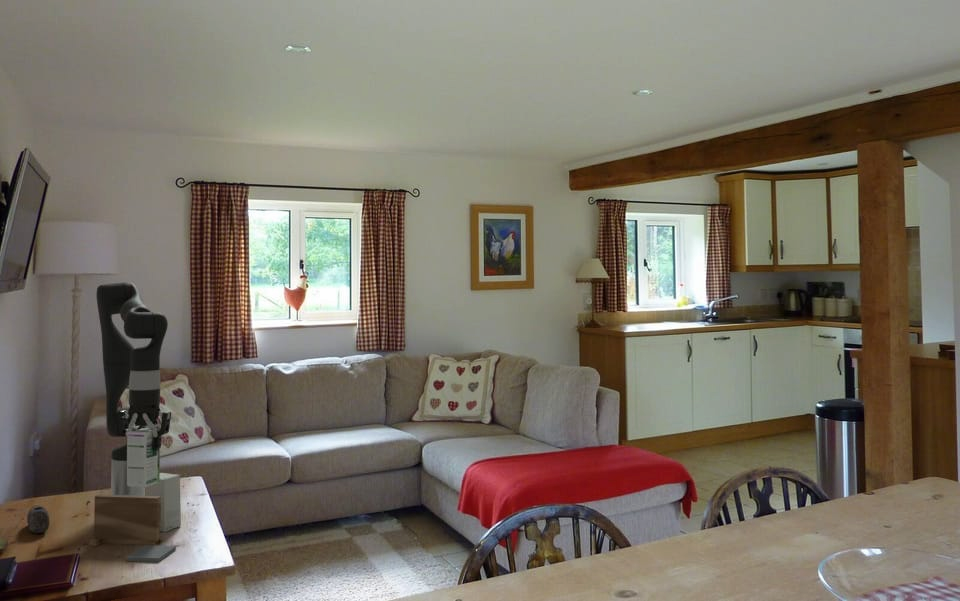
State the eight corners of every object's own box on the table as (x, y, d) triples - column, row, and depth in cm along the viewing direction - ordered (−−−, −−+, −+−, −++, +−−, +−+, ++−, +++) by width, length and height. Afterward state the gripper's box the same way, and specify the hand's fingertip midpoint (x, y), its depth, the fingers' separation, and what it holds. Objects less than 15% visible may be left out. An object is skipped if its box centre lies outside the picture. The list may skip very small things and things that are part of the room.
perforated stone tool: (25, 524, 212) (25, 501, 212) (45, 521, 216) (46, 498, 216) (28, 538, 200) (28, 513, 200) (50, 534, 203) (50, 510, 203)
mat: (143, 548, 193) (143, 545, 193) (175, 549, 192) (175, 546, 192) (125, 560, 184) (125, 557, 184) (158, 562, 183) (158, 558, 183)
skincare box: (181, 526, 212) (182, 474, 212) (163, 533, 206) (163, 479, 206) (161, 522, 215) (162, 471, 215) (142, 528, 209) (143, 476, 209)
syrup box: (145, 488, 184) (146, 432, 184) (125, 486, 185) (126, 431, 186) (159, 482, 190) (161, 428, 190) (140, 481, 191) (141, 427, 191)
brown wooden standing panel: (102, 538, 201) (103, 492, 201) (163, 540, 200) (164, 494, 200) (89, 545, 195) (90, 498, 195) (152, 547, 194) (153, 500, 194)
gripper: (178, 386, 191) (177, 448, 191) (127, 385, 192) (126, 446, 192) (163, 389, 184) (162, 454, 183) (110, 388, 185) (109, 452, 185)
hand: (143, 450), depth 188 cm, fingers closed on syrup box, 6 cm apart
